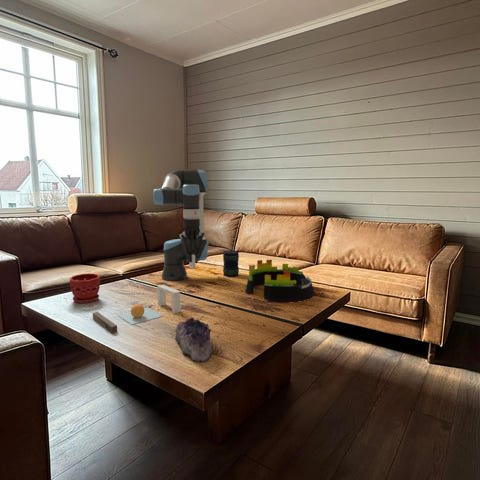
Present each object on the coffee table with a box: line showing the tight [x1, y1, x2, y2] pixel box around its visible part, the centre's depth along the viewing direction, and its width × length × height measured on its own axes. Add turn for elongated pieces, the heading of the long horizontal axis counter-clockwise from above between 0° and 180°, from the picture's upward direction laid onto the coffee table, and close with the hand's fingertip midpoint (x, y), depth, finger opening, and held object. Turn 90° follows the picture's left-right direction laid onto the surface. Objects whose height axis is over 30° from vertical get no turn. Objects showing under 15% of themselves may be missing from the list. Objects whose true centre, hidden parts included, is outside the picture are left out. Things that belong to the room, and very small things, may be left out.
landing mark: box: [117, 307, 163, 326], centre depth 145 cm, size 14×14×1 cm
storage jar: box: [222, 250, 240, 278], centre depth 214 cm, size 10×10×15 cm
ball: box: [130, 303, 145, 318], centre depth 143 cm, size 6×6×6 cm
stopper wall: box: [92, 311, 118, 334], centre depth 135 cm, size 2×20×2 cm, turn 42°
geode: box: [174, 317, 213, 363], centre depth 114 cm, size 20×12×10 cm, turn 24°
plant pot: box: [69, 273, 101, 304], centre depth 164 cm, size 13×13×12 cm
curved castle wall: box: [244, 259, 316, 304], centre depth 180 cm, size 37×37×15 cm
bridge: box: [157, 284, 182, 314], centre depth 154 cm, size 3×14×9 cm, turn 42°
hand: (192, 268), depth 161 cm, fingers closed
